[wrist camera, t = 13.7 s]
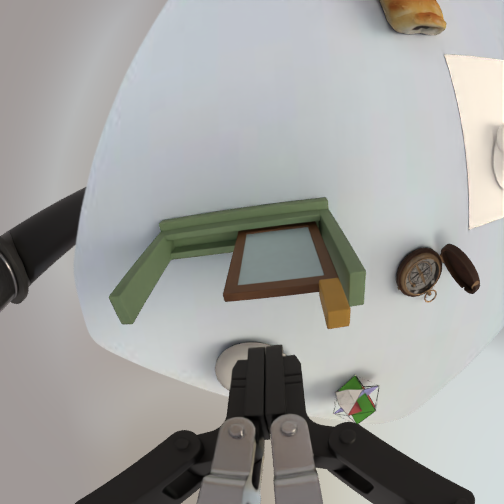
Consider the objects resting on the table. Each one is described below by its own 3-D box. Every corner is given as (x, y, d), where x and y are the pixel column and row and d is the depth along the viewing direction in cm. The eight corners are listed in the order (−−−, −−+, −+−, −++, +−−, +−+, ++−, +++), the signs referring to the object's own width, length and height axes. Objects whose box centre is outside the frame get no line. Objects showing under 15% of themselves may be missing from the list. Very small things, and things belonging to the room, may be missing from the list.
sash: (240, 239, 26) (218, 340, 14) (237, 227, 25) (213, 323, 14) (315, 229, 25) (351, 326, 13) (314, 217, 24) (353, 308, 13)
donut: (228, 385, 38) (296, 379, 37) (225, 403, 35) (296, 398, 34) (207, 339, 34) (286, 331, 32) (202, 359, 31) (286, 352, 29)
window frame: (172, 255, 28) (126, 333, 18) (161, 220, 27) (103, 286, 16) (328, 236, 27) (363, 314, 16) (325, 197, 25) (366, 258, 14)
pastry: (352, -37, 13) (363, -53, 10) (406, -33, 12) (421, -46, 9) (391, 37, 17) (409, 27, 14) (442, 37, 16) (462, 30, 12)
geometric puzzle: (393, 386, 34) (382, 418, 28) (365, 410, 37) (349, 440, 31) (361, 359, 37) (344, 386, 31) (335, 385, 40) (315, 412, 34)
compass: (386, 268, 28) (412, 309, 21) (440, 227, 25) (476, 258, 19) (409, 310, 30) (432, 350, 24) (457, 275, 28) (486, 308, 21)
